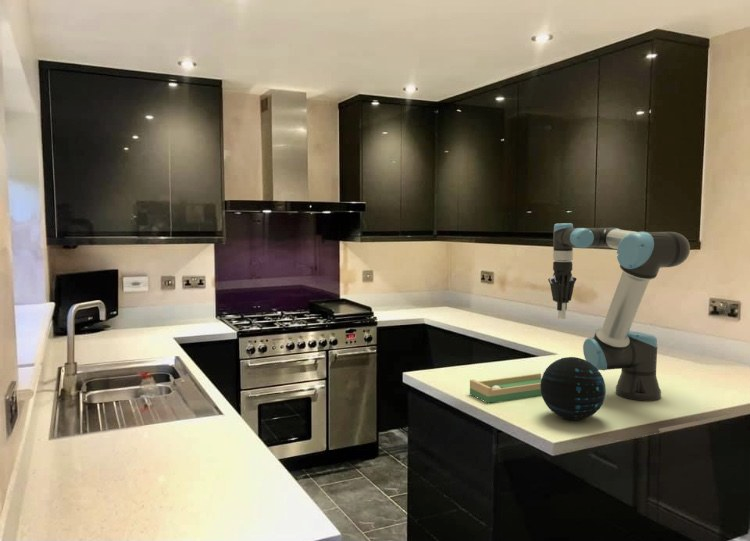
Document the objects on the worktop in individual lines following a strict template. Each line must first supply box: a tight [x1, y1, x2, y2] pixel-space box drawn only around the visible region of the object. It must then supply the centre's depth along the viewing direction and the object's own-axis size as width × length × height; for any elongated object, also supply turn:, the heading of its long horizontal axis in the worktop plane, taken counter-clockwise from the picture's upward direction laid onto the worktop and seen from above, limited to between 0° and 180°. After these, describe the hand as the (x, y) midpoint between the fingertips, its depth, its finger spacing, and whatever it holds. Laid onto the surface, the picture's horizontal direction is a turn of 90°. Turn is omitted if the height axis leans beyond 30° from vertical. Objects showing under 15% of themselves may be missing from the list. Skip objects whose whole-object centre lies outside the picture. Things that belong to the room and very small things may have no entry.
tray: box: [469, 372, 542, 404], centre depth 212 cm, size 12×32×6 cm, turn 113°
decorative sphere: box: [540, 356, 607, 421], centre depth 184 cm, size 20×20×20 cm
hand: (561, 318), depth 234 cm, fingers closed
